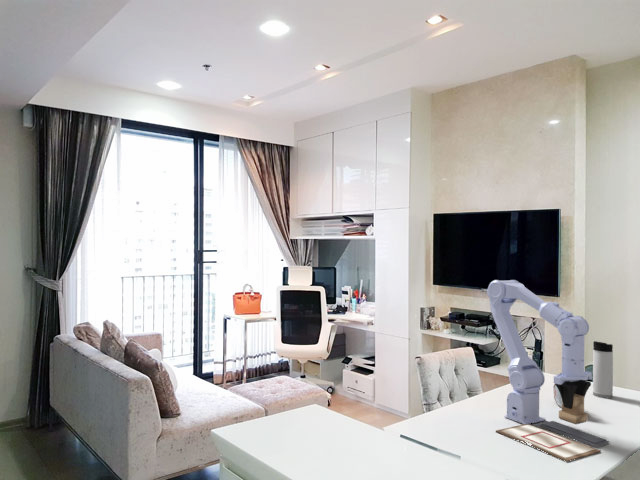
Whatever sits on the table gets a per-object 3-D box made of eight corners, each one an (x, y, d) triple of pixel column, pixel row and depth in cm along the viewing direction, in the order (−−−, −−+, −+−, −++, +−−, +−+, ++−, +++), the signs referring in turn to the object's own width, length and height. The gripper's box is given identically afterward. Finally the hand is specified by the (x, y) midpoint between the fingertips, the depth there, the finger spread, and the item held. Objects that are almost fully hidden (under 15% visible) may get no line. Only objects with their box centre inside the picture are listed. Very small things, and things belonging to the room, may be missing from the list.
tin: (583, 418, 151) (583, 391, 151) (573, 418, 151) (573, 391, 151) (560, 403, 166) (560, 379, 166) (551, 403, 166) (551, 378, 166)
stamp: (575, 424, 132) (576, 399, 133) (558, 418, 137) (558, 394, 137) (587, 421, 135) (587, 396, 135) (570, 416, 140) (570, 391, 140)
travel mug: (588, 393, 178) (588, 340, 179) (601, 392, 180) (602, 339, 181) (602, 398, 172) (603, 343, 173) (616, 397, 174) (616, 342, 175)
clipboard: (566, 462, 118) (566, 459, 118) (495, 431, 137) (495, 429, 137) (600, 452, 124) (600, 449, 124) (528, 424, 144) (528, 422, 144)
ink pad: (595, 447, 127) (595, 443, 127) (539, 426, 142) (539, 423, 142) (608, 444, 130) (608, 439, 130) (552, 423, 145) (552, 420, 145)
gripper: (570, 364, 130) (569, 414, 129) (602, 359, 136) (601, 407, 136) (547, 358, 136) (546, 406, 135) (578, 354, 143) (578, 400, 142)
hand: (572, 406), depth 136 cm, fingers closed on stamp, 4 cm apart
